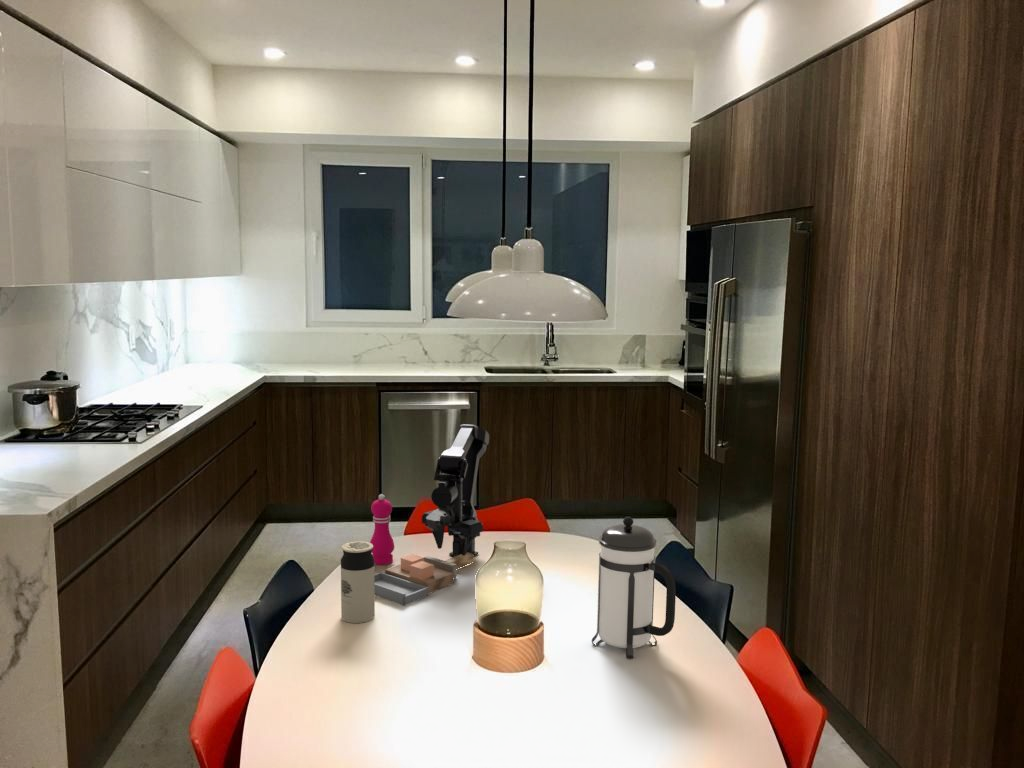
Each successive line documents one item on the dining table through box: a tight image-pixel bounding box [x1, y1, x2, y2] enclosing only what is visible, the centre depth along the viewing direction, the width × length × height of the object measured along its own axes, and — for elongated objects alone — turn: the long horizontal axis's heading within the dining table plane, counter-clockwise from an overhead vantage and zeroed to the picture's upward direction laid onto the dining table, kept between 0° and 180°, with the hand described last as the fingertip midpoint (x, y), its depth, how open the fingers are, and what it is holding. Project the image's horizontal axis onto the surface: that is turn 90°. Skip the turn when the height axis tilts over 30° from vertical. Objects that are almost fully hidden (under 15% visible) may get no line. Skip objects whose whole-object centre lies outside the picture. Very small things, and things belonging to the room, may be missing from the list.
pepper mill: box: [369, 493, 395, 566], centre depth 251 cm, size 7×7×20 cm
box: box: [374, 571, 430, 607], centre depth 228 cm, size 9×18×3 cm, turn 51°
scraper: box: [423, 552, 474, 579], centre depth 247 cm, size 14×11×4 cm
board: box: [384, 563, 454, 594], centre depth 236 cm, size 10×16×3 cm, turn 51°
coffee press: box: [591, 516, 677, 659], centre depth 196 cm, size 17×16×30 cm
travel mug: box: [340, 541, 376, 624], centre depth 210 cm, size 8×8×18 cm
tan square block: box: [400, 553, 425, 571], centre depth 238 cm, size 4×4×3 cm
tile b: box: [410, 561, 434, 580], centre depth 232 cm, size 4×4×3 cm
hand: (451, 551), depth 246 cm, fingers open, 9 cm apart
